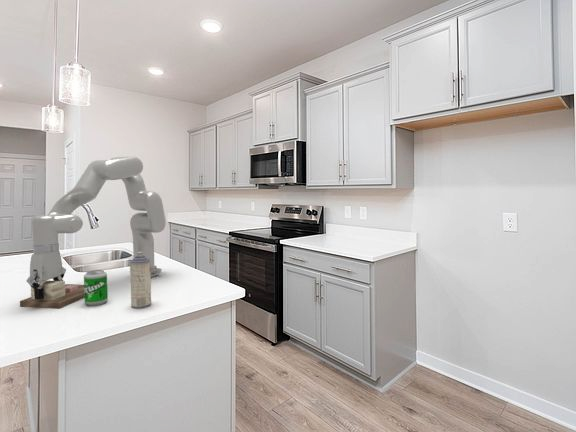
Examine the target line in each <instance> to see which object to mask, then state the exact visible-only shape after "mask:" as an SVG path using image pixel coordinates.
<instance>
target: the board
mask: <svg viewBox="0 0 576 432" xmlns="http://www.w3.org/2000/svg"><path fill="white" fill-rule="evenodd" d="M68 285H75V286H78V289H77V290H74V291H72V292H65V295H66V297H64V298H61V299H59V300H56V301H34V300H31V296H30V297H28V298H24V299H22V300H20V301H19V306H20V307H22V308H23V307H24V308H25V307H26V308H43V309H63V308H64V307H67V306H69V305H72V304H73V303H75V302H78V301H79V300H83V299H85V292H84V284H77V283H76V284H73V283H67V284H66V283H65V286H68Z"/></svg>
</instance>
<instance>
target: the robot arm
mask: <svg viewBox="0 0 576 432" xmlns="http://www.w3.org/2000/svg"><path fill="white" fill-rule="evenodd" d="M143 170H144V163H143V162H142V159H140V158H139V157H137V156H116V157H111V158H110V159H100V160H98V159H97V160H93V161H91V162H89V164H88V166H87V167H86V168H85V170H84V172H83V173H82V175H81V176H80V178H79V179H78V180H77V182H76V184H75V185H74V187H73V188H72V189H71V190H69V191H68V192H66V193H65V194H64V195H63V196H62V197H61V198H59V199H58V200H57V201H56V202H55V203H54V205H53V206H52V207H51V209H50V211H49V212H48V213H47V215H36V216H34V217H32V219H31V227H32V228H31V229H32V231H31V232H32V251H33V253H32V254H31V256H30V263H29V276H28V278H27V279H26V283H27V284H28V285H29V286H30V288H31V287H32V288H33V289H34V296H35V299H44V289H43V288H42V286H43V283H44V281H46V280H47V281H50V280H52V281H64V279H63V278H64V277H65V274H66V273H67V272H66V271H67V269H66V268H65V267H63V262H62V256H61V252H60V250H59V249H60V244H59V234H75V233H77V232H79V231H81V229H82V228H83V225H84V223H83V219H82V218H81V217H80V216H79V215H76V214H74V213H73V212H75V211H76V210H77V209H78V208H79V207H81V206H83V205H85V204H87V203H90V202H92V201H94V200H96V198H97V196H98V195H99V193H100V191H102V188H103V186H104V185H105V183H106V181H118V180H121V181H122V182H123V183H124V186H125V190H126V196H127V200H128V204H129V206H130V208H131V209H132V210H134V211H137V213H135V214H133V215H132V216H131V217H130V219H129V222H130V224H129V225H130V230H131V234H132V248H133V250H132V253H133V258H134V257H135V256H136V255H137V252H142V254H143V255H144V256H145V257H147V259H149V260H150V276H151V278H153V277H157V276H158V275H159V274H161V273H162V268H157V267H158V266H157V265H155V239H154V235H153V234H157V233H161V232H164V229H165V228H166V226H167V225H166V224H167V222H166V215H165V209H164V205H163V200H162V197H161V196H160V195H159V193H157V192H155V191H151V190H147V189H146V185H145V181H144V178H143V176H142V175H141V173H142V172H143ZM72 213H73V214H72ZM38 282H40V283H39V285H38Z"/></svg>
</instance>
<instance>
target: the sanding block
mask: <svg viewBox="0 0 576 432" xmlns="http://www.w3.org/2000/svg"><path fill="white" fill-rule="evenodd" d="M39 283H40V282H38V285H39ZM65 285H66V281H64V280H63V281H54V280H46V281H44V283H43V286H42V288H43V289H44V299H35V296H34V289H33V288H32V287H31V286H30V297H31V300H34V301H56V300H59V299H61V298H64V297H66V295H65Z"/></svg>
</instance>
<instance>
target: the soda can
mask: <svg viewBox="0 0 576 432" xmlns="http://www.w3.org/2000/svg"><path fill="white" fill-rule="evenodd" d="M83 285H84V292H85V298H84V303H85V304H87V306H90V307H94V306H95V307H96V306H100V305H103V304H105V303H106V302H107V301H108V299H109V297H108V295H109V294H108V274H107V271H106V272H105V270H103V269H102V270H101V269H97V270H96V269H95V270H90V271H87V272H86V273H85V274H84V275H83Z"/></svg>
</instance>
